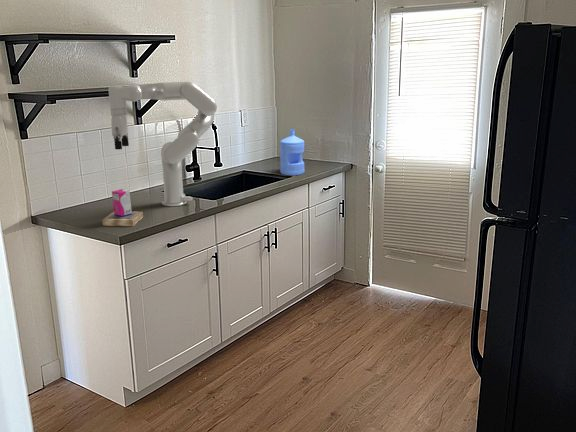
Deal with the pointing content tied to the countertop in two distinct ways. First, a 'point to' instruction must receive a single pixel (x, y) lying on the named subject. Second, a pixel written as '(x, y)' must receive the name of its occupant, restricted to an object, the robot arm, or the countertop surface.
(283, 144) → the water jug
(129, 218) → the square wooden tray
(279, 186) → the countertop surface
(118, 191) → the supplement box
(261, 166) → the countertop surface
